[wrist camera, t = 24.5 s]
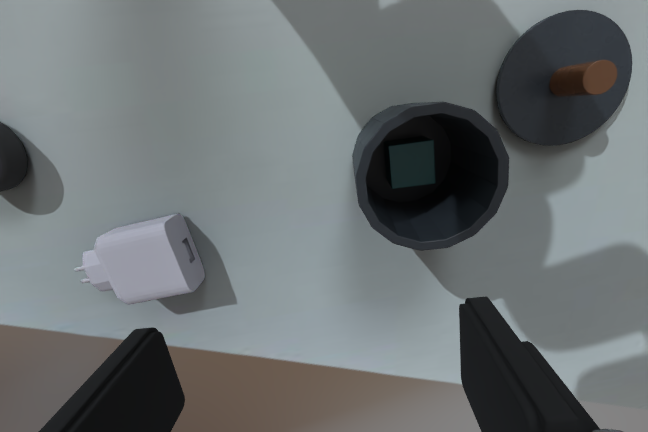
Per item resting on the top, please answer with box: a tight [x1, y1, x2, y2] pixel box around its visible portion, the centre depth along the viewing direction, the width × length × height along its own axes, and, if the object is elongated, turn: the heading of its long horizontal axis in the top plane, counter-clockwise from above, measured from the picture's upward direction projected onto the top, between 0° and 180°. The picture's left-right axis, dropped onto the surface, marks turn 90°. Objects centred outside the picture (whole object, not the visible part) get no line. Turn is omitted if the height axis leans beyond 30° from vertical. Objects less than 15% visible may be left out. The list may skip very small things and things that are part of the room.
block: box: [384, 136, 436, 189], centre depth 35 cm, size 4×4×4 cm
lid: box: [496, 10, 632, 145], centre depth 32 cm, size 13×13×6 cm
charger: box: [75, 213, 205, 304], centre depth 42 cm, size 5×9×15 cm
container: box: [352, 102, 509, 250], centre depth 32 cm, size 12×12×12 cm
